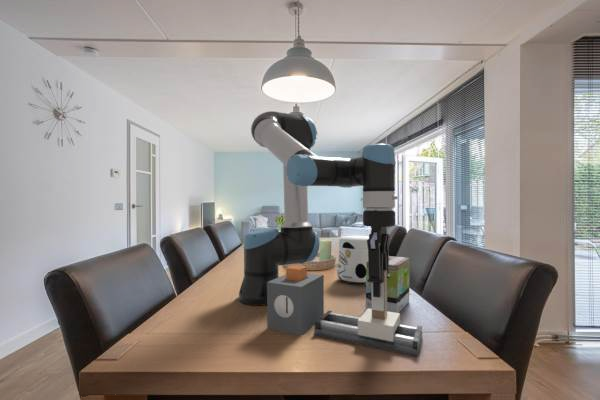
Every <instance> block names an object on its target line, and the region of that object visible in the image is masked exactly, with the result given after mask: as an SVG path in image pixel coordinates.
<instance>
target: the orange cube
mask: <svg viewBox="0 0 600 400" xmlns="http://www.w3.org/2000/svg"><path fill="white" fill-rule="evenodd" d="M307 273H308V266H304V265H297V264H296V265H295V264H292V265H290V266H288V267H286V268H285V274H286V280H293V281H303V280H305V279H307Z"/></svg>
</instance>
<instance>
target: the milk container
mask: <svg viewBox="0 0 600 400" xmlns="http://www.w3.org/2000/svg"><path fill="white" fill-rule="evenodd" d="M368 239H369V235H368V236H367V235H343V236H339V238H338V261H337V264H336V275H337V278H338V279H339V280H340V281H342V282H344V283H348V284H351V285H366V265H367V261H368V245H367V240H368Z"/></svg>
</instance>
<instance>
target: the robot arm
mask: <svg viewBox="0 0 600 400" xmlns="http://www.w3.org/2000/svg"><path fill="white" fill-rule="evenodd" d="M250 132H251V137H252V138H253V139H254V141H255V142H256V144H258V146H259V147H263V148H266V149H267V150H268V151H270V153H272V155H274V156H275V158H277V160H279V161H280V162H281V163H282V164H283V167H282V168H283V173H282V174H283V208H284V222H283V223H282V224H281V225H280V231H279V229H278V228H276V227H269V228H260V229H259V228H258V229H256V230H251V231H249V232H247V233H246V234H245V235H244V239H243V240H244V241H243V246H242V247H243V279H242V282H241V285H240V287H239V288H240V289H239V291H238V301H239V302H240V303H242V304H245V305H249V306H250V305H251V306H266V305H267V282H269V281H271V280H274V279H276V278H278V277H280V274H279V266H288V265H295V264H296V265H297V264H304V263H309V262H313V261H314V260H315V259H316V257H317V256H318V253H319V250H320V245H321V244H320V243H321V241H320V237H319V234H318V232H317V231H316V230H314V229H313V224H311V223H310V221H309V205H308V204H309V203H308V201H309V199H308V187H339V188H353V187H362V208H363V209H365V210H363V211H362V224H363V226H365V227H370V229H371V230H370V233H369V235H368V236H369V239H368V240H367V245H368V265H369V279H368V282H371V293H372V310H377V311H384V282H383V280H382V278H383V270H387V274H388V273H389V256H390V238H391V237H390V236H391V235H390V233H388V232H387V228H391V227H394V226H396V212H395V210H393V209H395V208H396V201H395V200H398V198H399V197H398V195H396V157H395V156H396V154H395V148H394V146H392V145H391V144H388V143H374V144H373V143H372V144H367V145H365V146H364V147H363V149H362V154H361V156H359V157H353V158H351V157H350V158H349V157H339V156H338V157H336V156H335V157H334V156H326V155H317V154H316V153H314V152H312V151H311V149H312V148H313V147H314V145H315V143H316V140H317V134H318V133H317V127H316V124H315V122H314V121H313V119H311V118H310V117H309V116H306V115H301V114H293V113H286V112H279V111H272V110H271V111H264V112H262V113H261V114H258V115H257V117H255V118H254V119H253V122H252V124H251V128H250ZM387 278H390V275H387Z"/></svg>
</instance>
